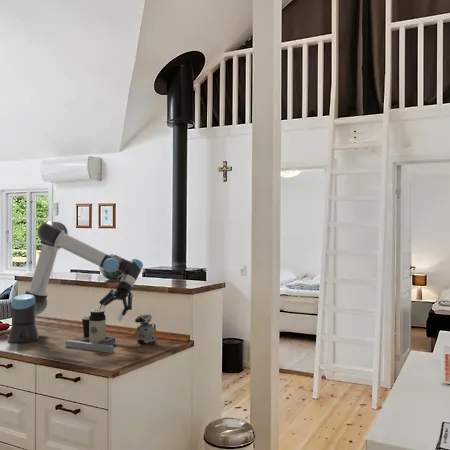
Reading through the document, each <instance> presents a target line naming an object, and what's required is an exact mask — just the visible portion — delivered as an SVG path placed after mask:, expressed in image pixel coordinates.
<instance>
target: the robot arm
mask: <svg viewBox="0 0 450 450" xmlns="http://www.w3.org/2000/svg"><path fill="white" fill-rule="evenodd" d="M37 236H38V238H39V240H40V245H41V249H40V253H39V256H38V259H37V263H36V266H35V269H34V272H33V276H32V279H31V282H30V283H31V284H30V286H29V287H28V288H26V290H25V293H24V294H20V295H15V296H14V297H13V298H12V300H11V304H10V305H11V326H10V327H11V328H10V332H9V333H8V337H7V342H9V343H13V344H14V343H15V344H25V343H31V342H35V341H38V340H39V338H40V337H39V335H40V334H39V333H38V329H37V326H36V316H37V315H38V316H39V315H41V314H42V313H43V312H44V311H45V309H46V308H47V306H48V300H47V299H48V298H47V297H48V292H47V288H48V285H49V281H50V277H51V274H52V271H53V267H54V265H55V261H56V257H57V254H58V251H59V250H60V249H63V250H65V251H67V252H70V253H71V254H74V255H76V257H77V256H78V257H79V258H82V259H84V260H86V261H88V262H90V263H92V264H94V265H96V266H99V267H100V268H102V269H104V271H105V272H107V273H110V274H111V273H114V272H120V273H123V275H122V277H121V279H120V281H119V283H118V285H117V287H116V290H113V289H110V291H109V292H108V293H107V294H106V295H105V296H103V298H102V299H100V300H99V304H100V306H99V308H98V309H104V310H105V309H106V306H108V305H109V304H111V303H112V302H114V301H122V303H123V307H122V309H121V310H120V313H119V315H118V316H117V320H118V321H119V322H122V320H123V318H124V316H126V314H127V312H128V311H132V309H133V297H134V294H133V293H132V292H131V291H132V288H133V287H134V285H135V283H136V282H137V279H138V277H139V276H140V274H141V272H142V269H143V267H144V264H143V262H142V261H141V260H139V259H138V258H131V260H128V259H125V258H123V257H121V256H118V255H117V254H113V253H110V254H107V253H105V252H103V251H100V249H97V248H95V247H93V246H91V245H89V244H87V243H85V242H83V241H81V240H80V239H77V238H74V236H70V235H69V231H68V228H67V227H66V225H65V224H63V223H62V222H59V221H57V220H56V221H45V222H43V223H41V224H40V226H39V227H38V229H37ZM105 311H106V310H105Z"/></svg>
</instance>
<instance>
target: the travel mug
mask: <svg viewBox="0 0 450 450" xmlns="http://www.w3.org/2000/svg"><path fill="white" fill-rule="evenodd" d="M89 312H90V315H89V316H88V317H89V343H96V344H99V342H101V341H104V340H105V336H106V332H107V331H106V329H107V327H106V324H107V323H106V321H107V319H106V315H105V312H106V310H104V309H99V308H95V309H90V310H89Z"/></svg>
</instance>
